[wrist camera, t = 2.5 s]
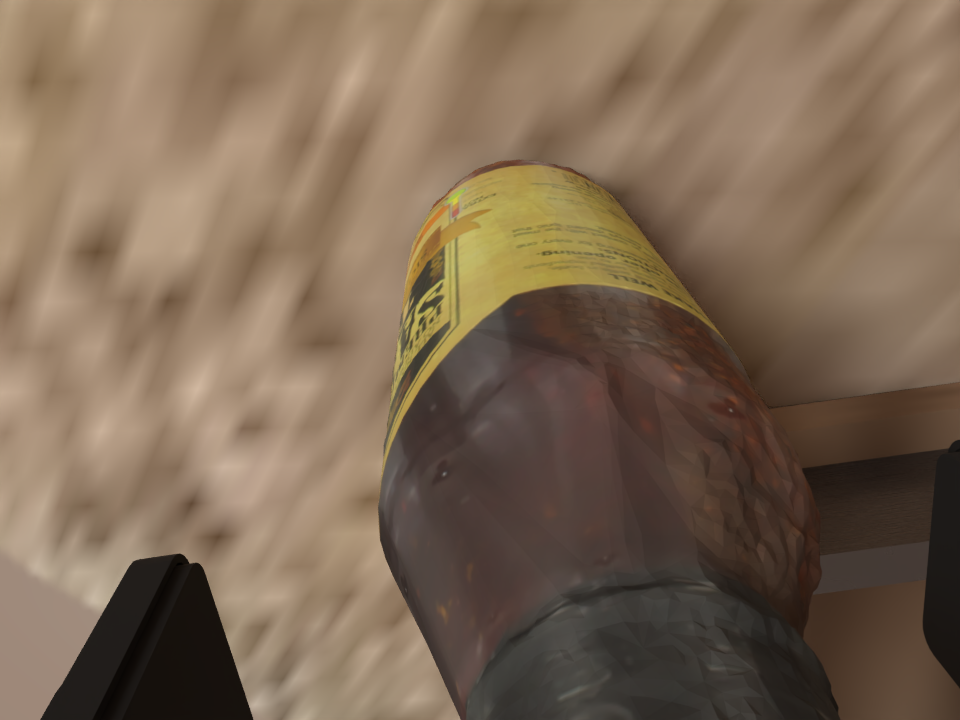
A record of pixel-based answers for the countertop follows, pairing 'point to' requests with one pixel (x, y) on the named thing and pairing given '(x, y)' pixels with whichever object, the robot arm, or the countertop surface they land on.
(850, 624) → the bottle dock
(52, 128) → the countertop surface
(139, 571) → the robot arm
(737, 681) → the sauce bottle
